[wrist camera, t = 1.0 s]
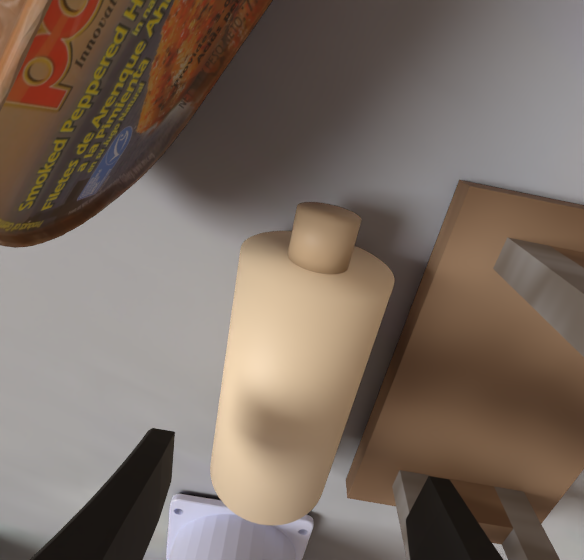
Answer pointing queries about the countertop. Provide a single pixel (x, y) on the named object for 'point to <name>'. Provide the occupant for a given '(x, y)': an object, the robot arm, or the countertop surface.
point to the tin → (100, 98)
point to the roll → (294, 361)
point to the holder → (488, 371)
